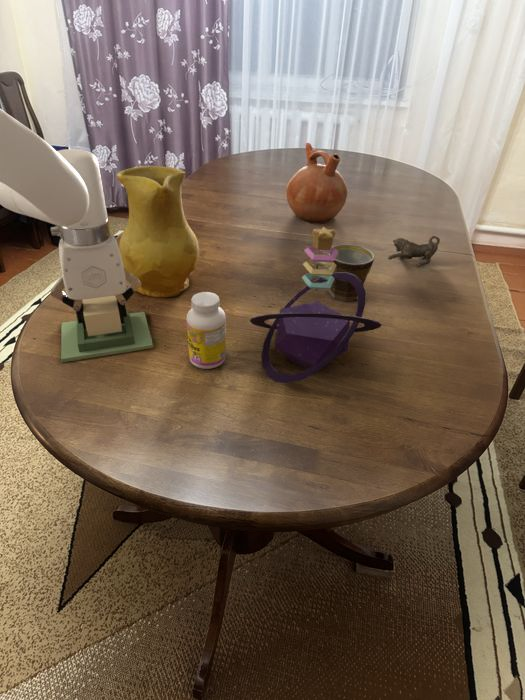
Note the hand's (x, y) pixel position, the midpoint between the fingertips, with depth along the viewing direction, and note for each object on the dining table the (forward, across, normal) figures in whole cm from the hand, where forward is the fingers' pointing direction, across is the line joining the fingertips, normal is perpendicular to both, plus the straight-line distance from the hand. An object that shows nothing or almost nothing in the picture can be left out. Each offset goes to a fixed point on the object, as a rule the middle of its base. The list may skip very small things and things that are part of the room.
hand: (103, 321), depth 87 cm
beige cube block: (+1, 0, 0) cm, 1 cm away
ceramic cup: (+4, +51, +3) cm, 51 cm away
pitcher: (+4, +14, +19) cm, 24 cm away
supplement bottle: (+4, +17, -12) cm, 21 cm away
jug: (+4, +65, +49) cm, 81 cm away
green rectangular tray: (+3, 0, 0) cm, 3 cm away
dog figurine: (+4, +77, +14) cm, 78 cm away
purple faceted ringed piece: (+4, +35, -17) cm, 39 cm away
